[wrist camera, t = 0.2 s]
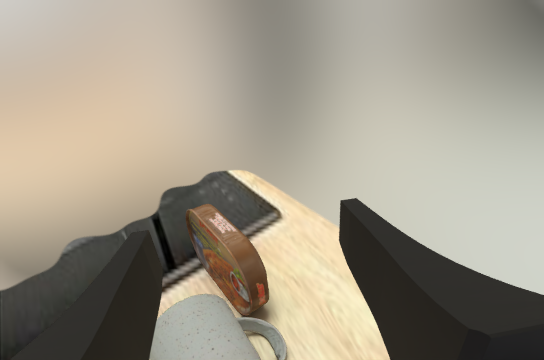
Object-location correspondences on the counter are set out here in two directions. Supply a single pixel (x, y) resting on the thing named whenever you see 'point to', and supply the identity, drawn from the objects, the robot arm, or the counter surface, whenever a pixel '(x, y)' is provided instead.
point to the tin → (228, 258)
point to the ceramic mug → (209, 332)
